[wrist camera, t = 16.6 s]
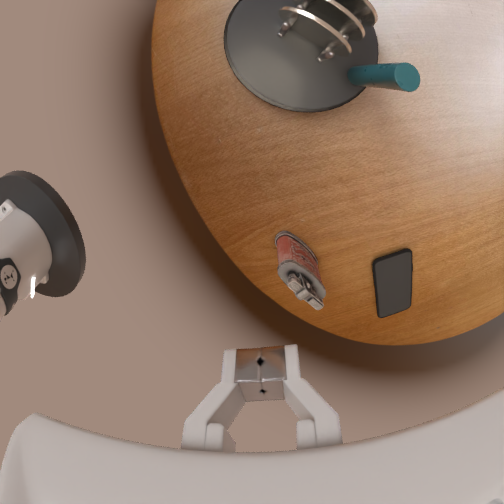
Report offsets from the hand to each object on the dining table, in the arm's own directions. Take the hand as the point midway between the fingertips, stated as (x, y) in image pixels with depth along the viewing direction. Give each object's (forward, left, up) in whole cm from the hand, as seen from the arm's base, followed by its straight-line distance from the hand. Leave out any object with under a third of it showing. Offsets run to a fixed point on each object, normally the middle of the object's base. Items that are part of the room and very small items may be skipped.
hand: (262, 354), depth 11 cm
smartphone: (+21, -23, -27) cm, 41 cm away
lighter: (+4, -14, -27) cm, 31 cm away
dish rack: (+7, +15, -26) cm, 31 cm away
